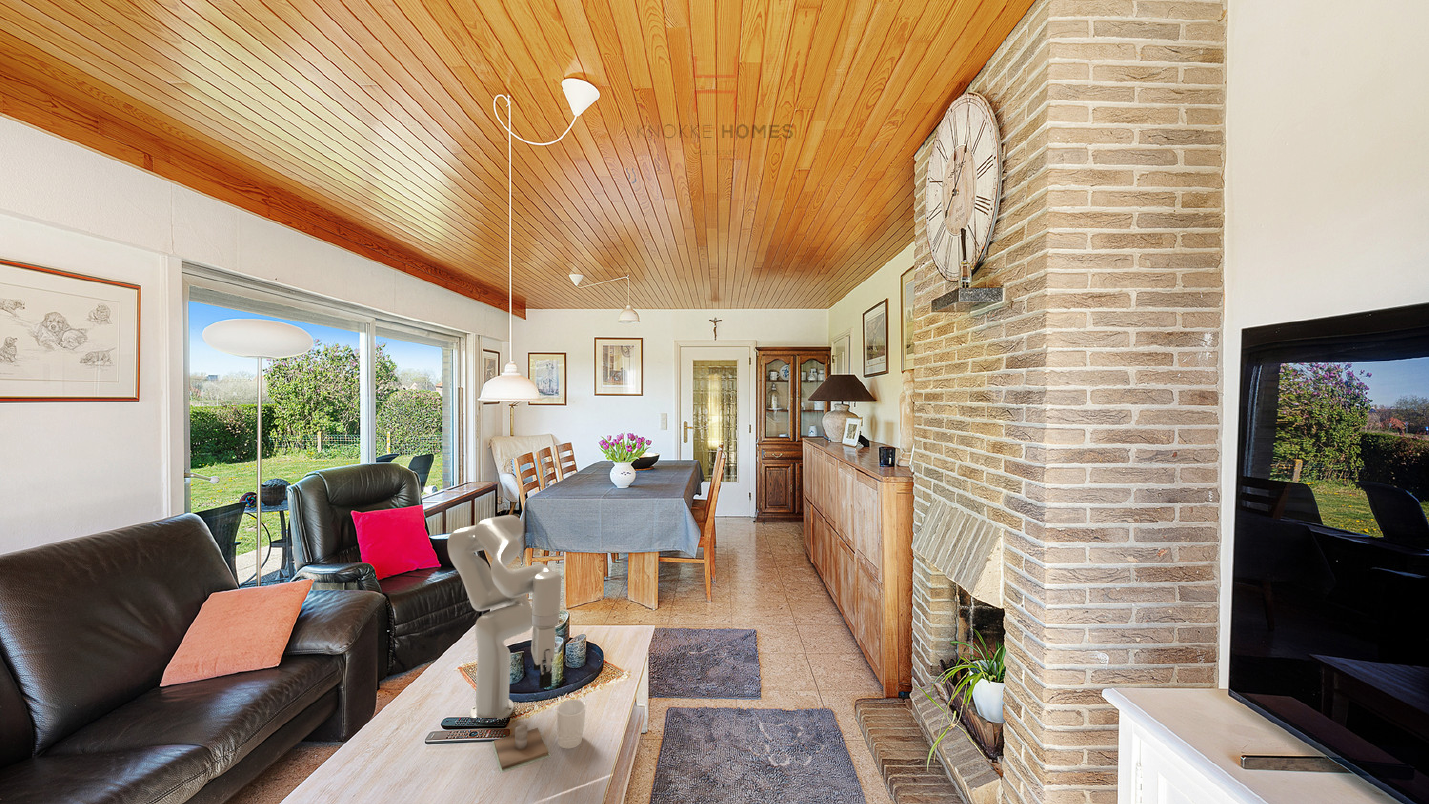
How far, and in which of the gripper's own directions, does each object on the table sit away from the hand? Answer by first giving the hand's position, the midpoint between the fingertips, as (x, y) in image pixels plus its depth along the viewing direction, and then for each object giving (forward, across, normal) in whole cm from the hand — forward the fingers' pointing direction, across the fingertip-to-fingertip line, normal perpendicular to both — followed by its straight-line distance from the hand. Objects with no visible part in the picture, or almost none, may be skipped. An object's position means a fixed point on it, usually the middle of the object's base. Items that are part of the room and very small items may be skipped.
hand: (542, 677), depth 145 cm
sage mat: (+20, -1, -5) cm, 21 cm away
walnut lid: (+20, -1, -5) cm, 20 cm away
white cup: (+20, +1, +9) cm, 22 cm away
